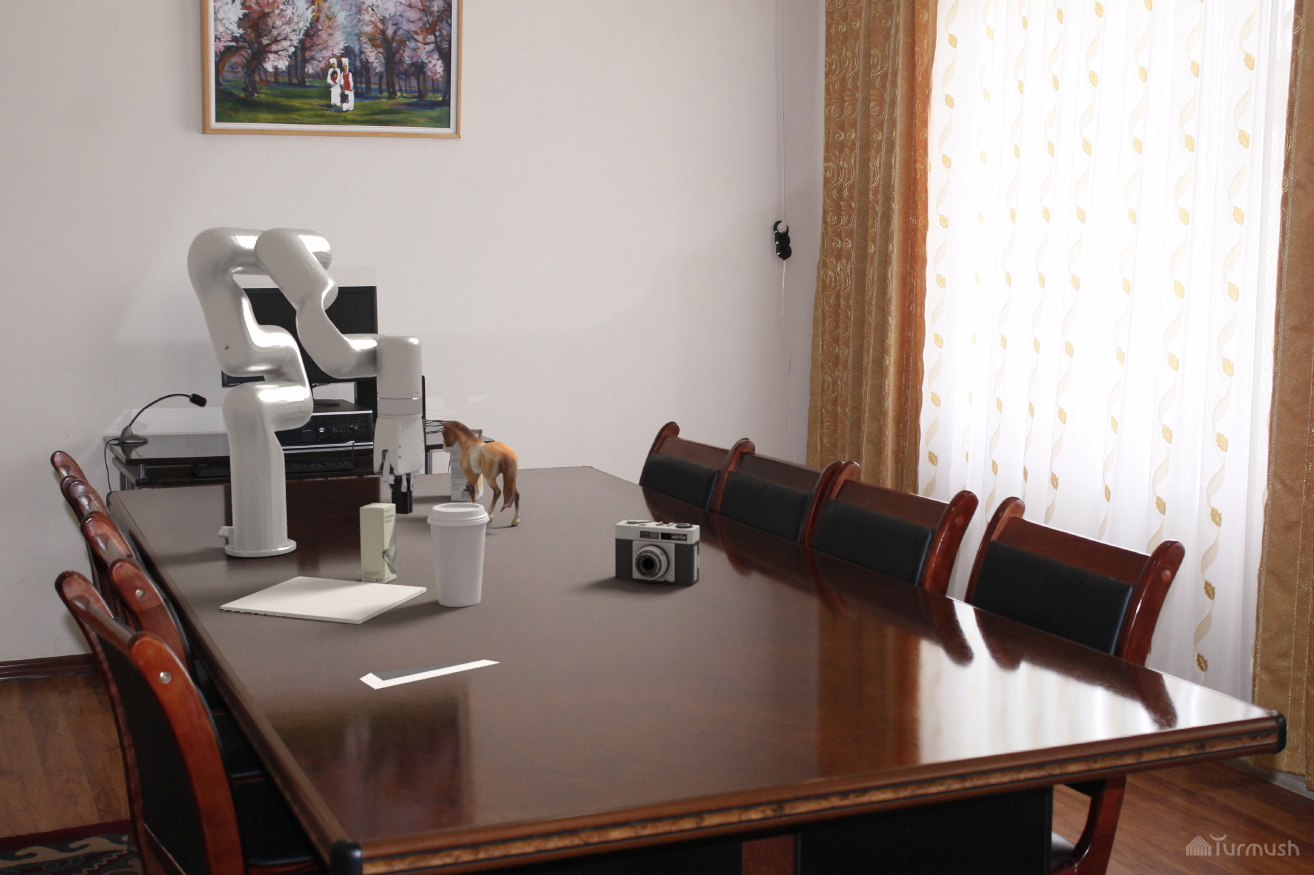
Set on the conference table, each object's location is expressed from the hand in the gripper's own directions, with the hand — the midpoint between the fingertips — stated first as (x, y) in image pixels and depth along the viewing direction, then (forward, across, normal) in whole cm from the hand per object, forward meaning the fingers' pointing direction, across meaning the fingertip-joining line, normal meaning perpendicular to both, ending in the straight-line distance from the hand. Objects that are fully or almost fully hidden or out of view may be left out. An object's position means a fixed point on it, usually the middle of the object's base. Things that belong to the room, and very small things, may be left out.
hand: (402, 512), depth 199 cm
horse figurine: (+10, -44, -8) cm, 46 cm away
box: (+10, +8, 0) cm, 13 cm away
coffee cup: (+10, +16, +19) cm, 27 cm away
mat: (+10, +22, -1) cm, 24 cm away
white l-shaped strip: (+11, +37, +29) cm, 48 cm away
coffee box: (+10, -70, -23) cm, 74 cm away
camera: (+10, -6, +44) cm, 46 cm away
